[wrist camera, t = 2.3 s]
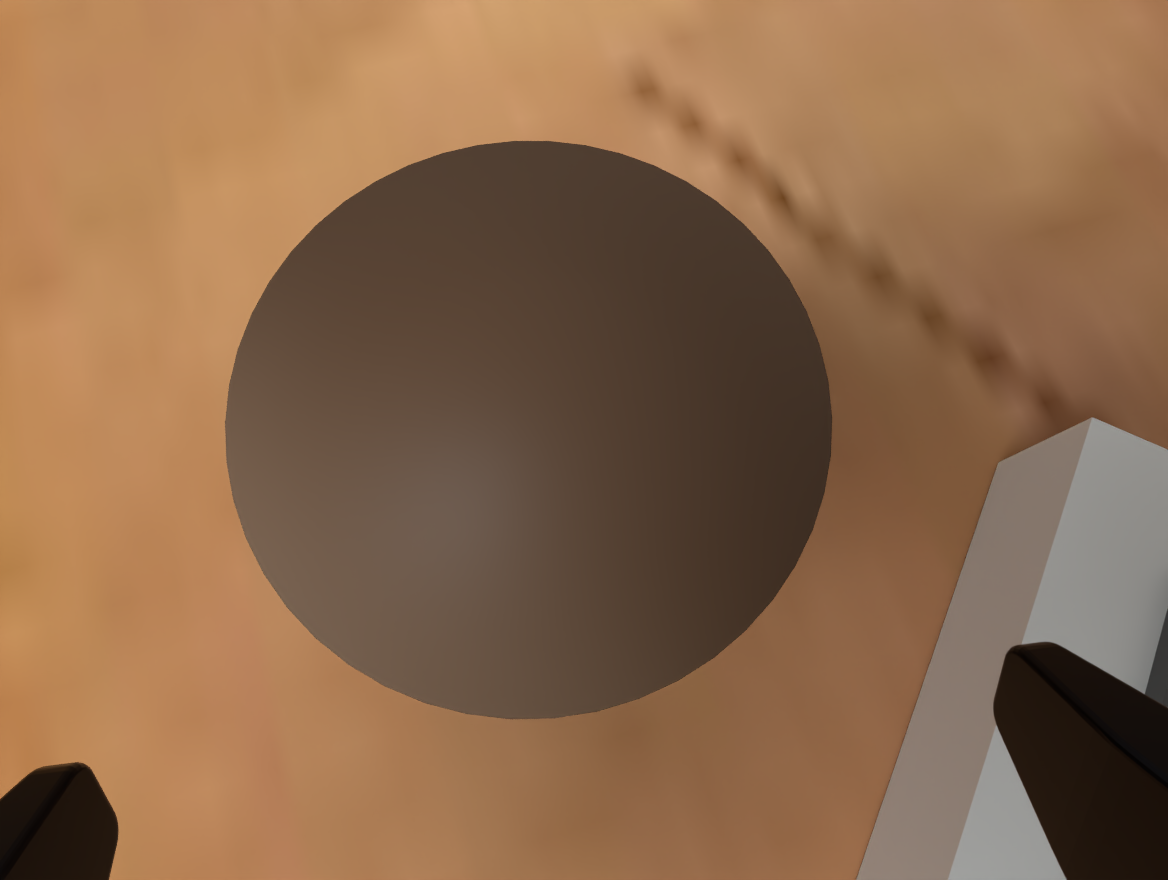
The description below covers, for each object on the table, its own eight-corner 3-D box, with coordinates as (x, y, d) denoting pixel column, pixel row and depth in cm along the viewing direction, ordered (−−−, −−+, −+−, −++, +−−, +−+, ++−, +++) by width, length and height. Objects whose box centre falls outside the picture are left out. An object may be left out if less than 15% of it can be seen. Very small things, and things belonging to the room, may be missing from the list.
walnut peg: (596, 719, 17) (689, 839, 5) (426, 635, 18) (101, 544, 5) (672, 546, 18) (914, 276, 6) (510, 470, 19) (409, 62, 6)
